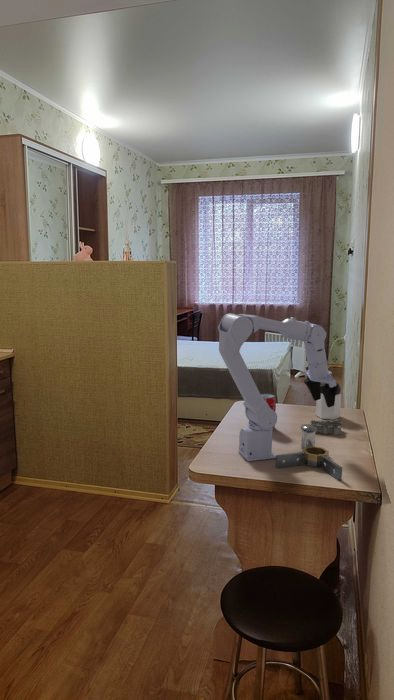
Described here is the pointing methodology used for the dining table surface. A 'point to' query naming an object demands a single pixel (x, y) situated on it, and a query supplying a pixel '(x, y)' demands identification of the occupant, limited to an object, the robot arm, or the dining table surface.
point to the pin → (308, 435)
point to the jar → (326, 411)
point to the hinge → (310, 460)
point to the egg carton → (328, 426)
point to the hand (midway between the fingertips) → (324, 402)
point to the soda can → (270, 401)
